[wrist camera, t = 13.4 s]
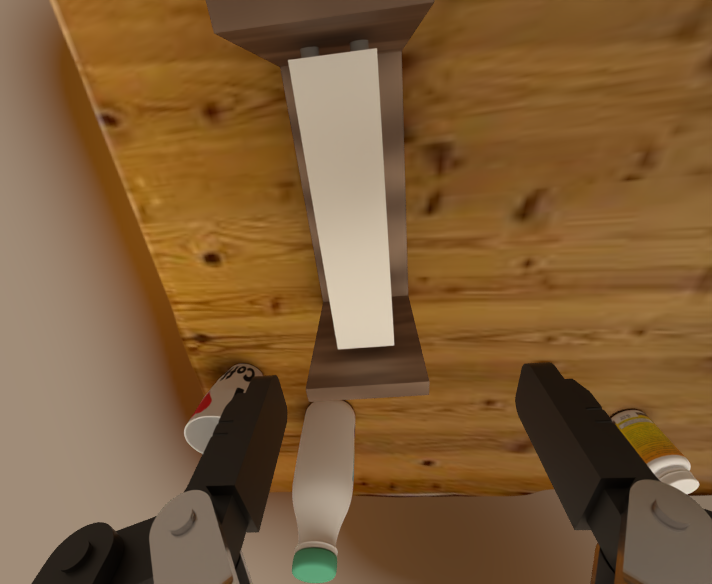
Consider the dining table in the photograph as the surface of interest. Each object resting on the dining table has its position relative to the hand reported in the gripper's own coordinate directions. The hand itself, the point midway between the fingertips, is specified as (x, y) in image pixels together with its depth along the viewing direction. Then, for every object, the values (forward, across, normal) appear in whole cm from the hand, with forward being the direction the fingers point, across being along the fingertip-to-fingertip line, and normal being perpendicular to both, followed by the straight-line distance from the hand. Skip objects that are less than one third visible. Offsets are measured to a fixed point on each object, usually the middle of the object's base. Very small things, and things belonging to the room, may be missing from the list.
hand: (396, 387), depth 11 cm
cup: (+26, +20, +24) cm, 41 cm away
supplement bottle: (+26, -36, +38) cm, 58 cm away
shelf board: (+17, +2, 0) cm, 17 cm away
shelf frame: (+26, +2, 0) cm, 26 cm away
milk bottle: (+26, +9, +32) cm, 43 cm away
